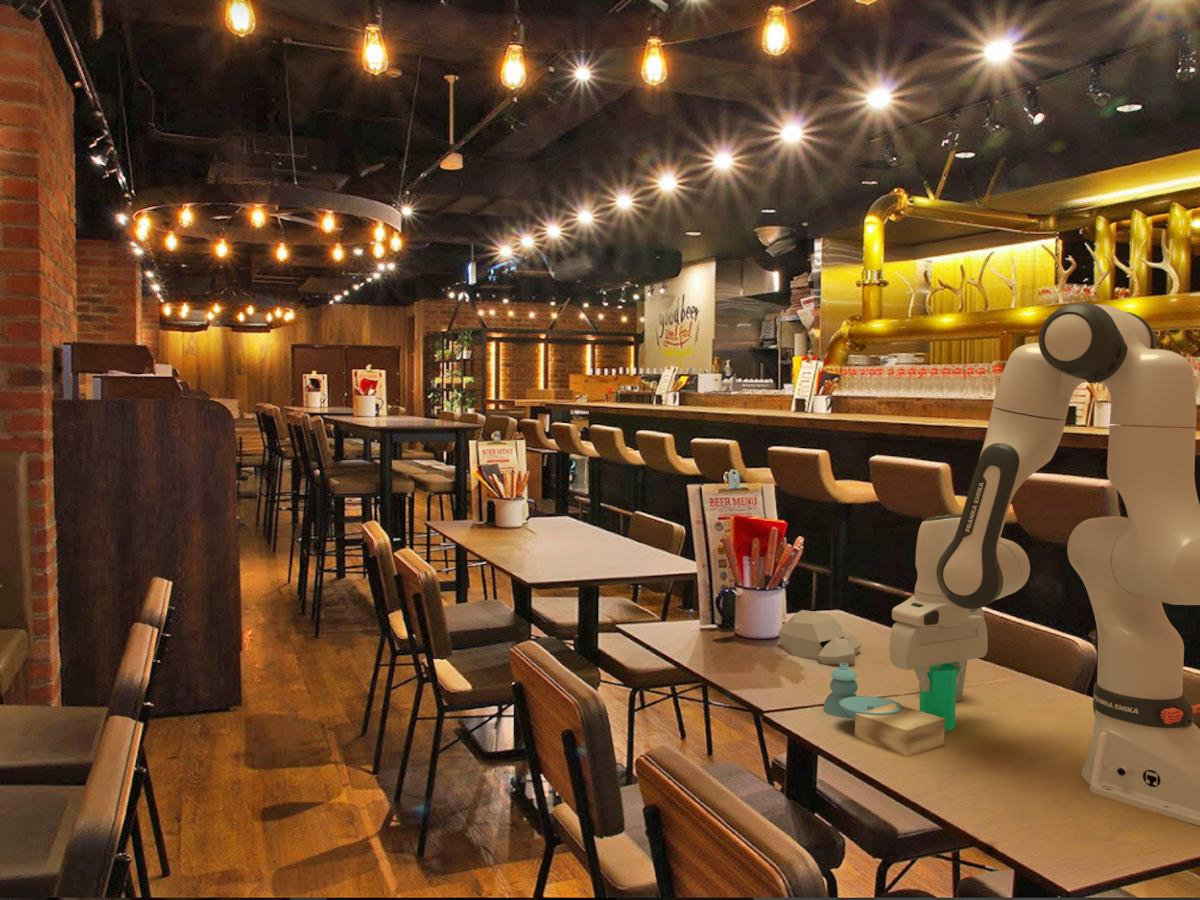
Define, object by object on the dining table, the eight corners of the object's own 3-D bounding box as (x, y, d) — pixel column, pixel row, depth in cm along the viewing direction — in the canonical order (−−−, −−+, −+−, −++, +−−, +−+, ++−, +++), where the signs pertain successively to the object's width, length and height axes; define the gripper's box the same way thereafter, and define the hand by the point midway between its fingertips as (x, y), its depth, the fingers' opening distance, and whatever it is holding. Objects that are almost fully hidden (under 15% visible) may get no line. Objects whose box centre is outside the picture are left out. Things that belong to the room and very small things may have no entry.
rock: (860, 648, 225) (860, 605, 224) (866, 672, 205) (867, 625, 205) (778, 643, 228) (778, 601, 228) (776, 666, 209) (777, 621, 208)
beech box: (944, 748, 161) (945, 718, 161) (906, 762, 155) (907, 730, 155) (891, 731, 169) (892, 702, 169) (854, 743, 163) (854, 713, 163)
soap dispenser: (914, 738, 164) (915, 683, 163) (857, 742, 161) (857, 687, 161) (860, 707, 181) (861, 657, 181) (807, 711, 179) (808, 660, 178)
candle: (924, 718, 175) (926, 650, 175) (959, 724, 172) (961, 656, 171) (913, 727, 171) (915, 657, 170) (949, 734, 167) (951, 663, 166)
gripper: (968, 599, 178) (966, 675, 179) (884, 610, 168) (882, 691, 169) (998, 606, 172) (995, 685, 173) (912, 618, 162) (910, 701, 163)
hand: (939, 688), depth 171 cm, fingers closed on candle, 5 cm apart
